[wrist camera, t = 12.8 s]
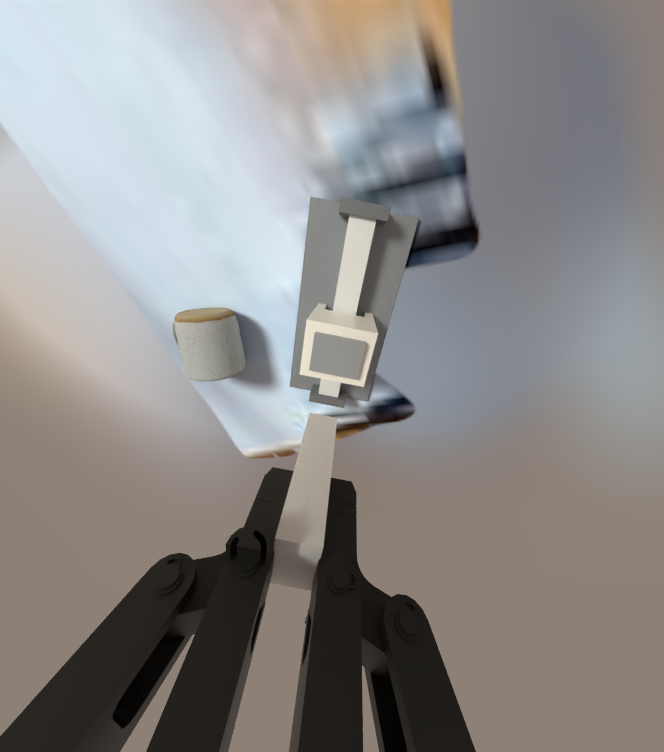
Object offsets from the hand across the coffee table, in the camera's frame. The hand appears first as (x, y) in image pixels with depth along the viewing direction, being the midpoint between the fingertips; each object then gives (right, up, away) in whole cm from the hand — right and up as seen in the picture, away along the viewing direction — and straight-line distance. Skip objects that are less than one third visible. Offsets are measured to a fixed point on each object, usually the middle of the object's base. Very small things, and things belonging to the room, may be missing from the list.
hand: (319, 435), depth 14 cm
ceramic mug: (-16, +9, +22) cm, 29 cm away
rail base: (+2, +11, +19) cm, 22 cm away
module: (+2, +9, +19) cm, 21 cm away
